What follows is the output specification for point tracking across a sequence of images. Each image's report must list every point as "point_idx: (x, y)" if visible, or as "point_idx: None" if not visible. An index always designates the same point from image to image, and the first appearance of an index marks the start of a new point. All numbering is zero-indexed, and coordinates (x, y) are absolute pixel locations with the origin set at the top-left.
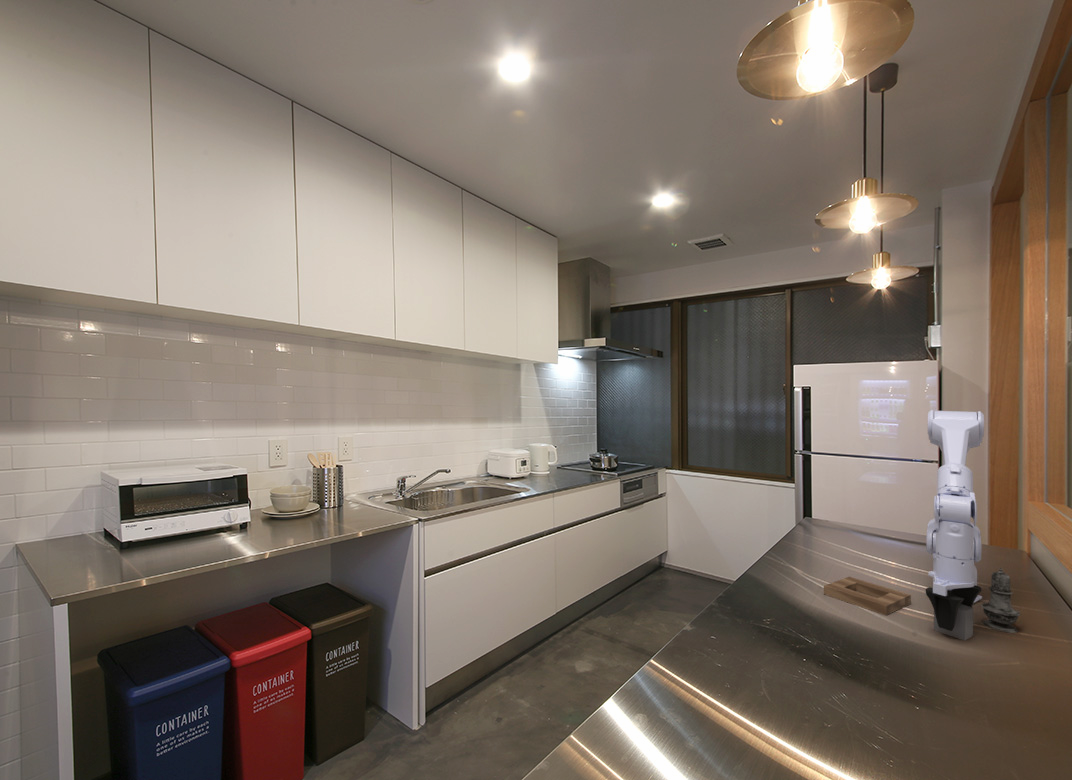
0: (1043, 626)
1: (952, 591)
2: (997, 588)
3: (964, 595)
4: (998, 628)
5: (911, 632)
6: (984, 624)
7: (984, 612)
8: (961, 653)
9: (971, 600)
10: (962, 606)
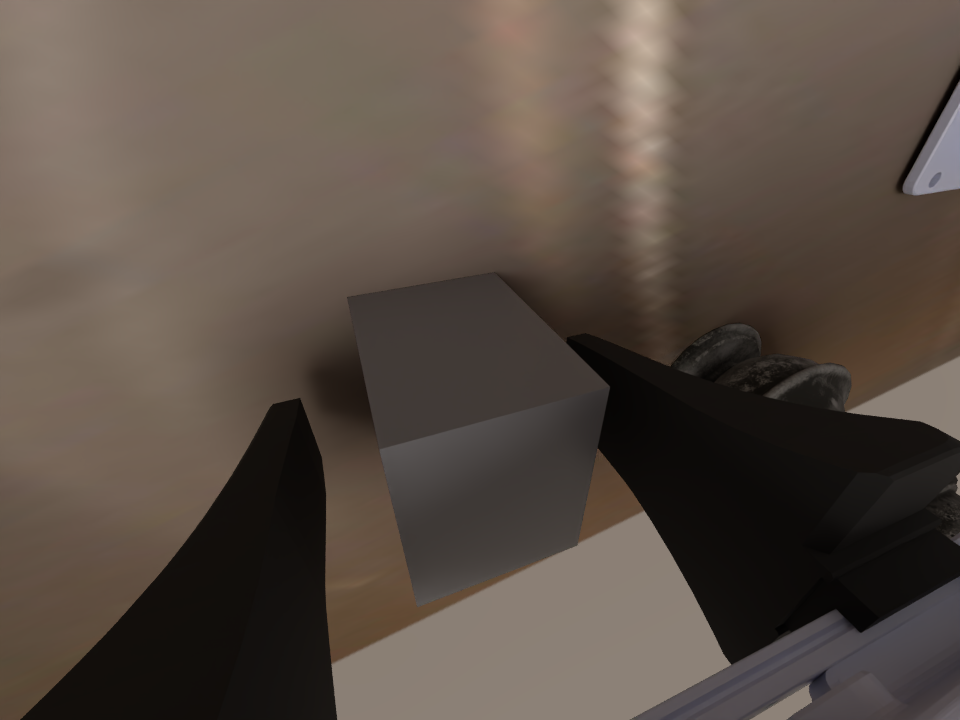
0: None
1: (736, 467)
2: None
3: (695, 529)
4: None
5: (42, 257)
6: (690, 346)
7: (748, 375)
8: (157, 533)
9: (663, 532)
10: (536, 530)
